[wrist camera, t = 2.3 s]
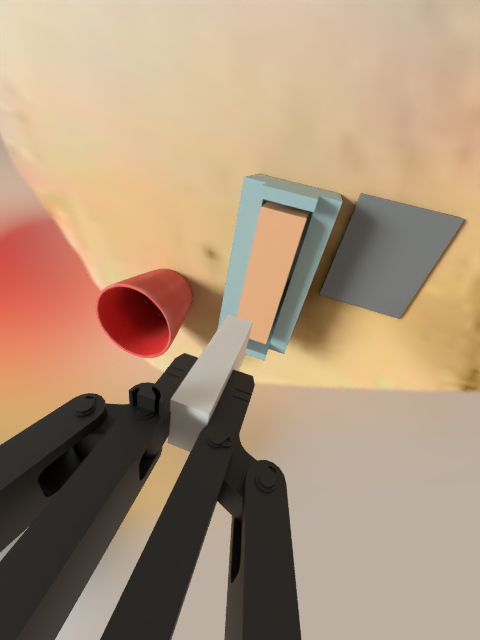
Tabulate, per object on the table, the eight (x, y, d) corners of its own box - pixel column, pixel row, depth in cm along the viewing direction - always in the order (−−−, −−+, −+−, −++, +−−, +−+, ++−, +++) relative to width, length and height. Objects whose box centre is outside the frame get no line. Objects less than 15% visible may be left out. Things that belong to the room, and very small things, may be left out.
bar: (269, 200, 26) (261, 206, 22) (309, 210, 25) (306, 218, 22) (242, 316, 33) (233, 333, 30) (272, 325, 33) (266, 344, 30)
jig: (259, 173, 29) (236, 178, 22) (339, 193, 28) (344, 205, 21) (231, 308, 39) (210, 342, 32) (289, 327, 38) (281, 366, 31)
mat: (361, 193, 27) (361, 193, 27) (462, 218, 26) (464, 219, 25) (319, 292, 34) (319, 294, 33) (398, 316, 33) (399, 318, 32)
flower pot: (215, 289, 38) (185, 324, 30) (183, 333, 44) (151, 371, 36) (155, 242, 37) (108, 266, 29) (131, 294, 43) (86, 325, 35)
